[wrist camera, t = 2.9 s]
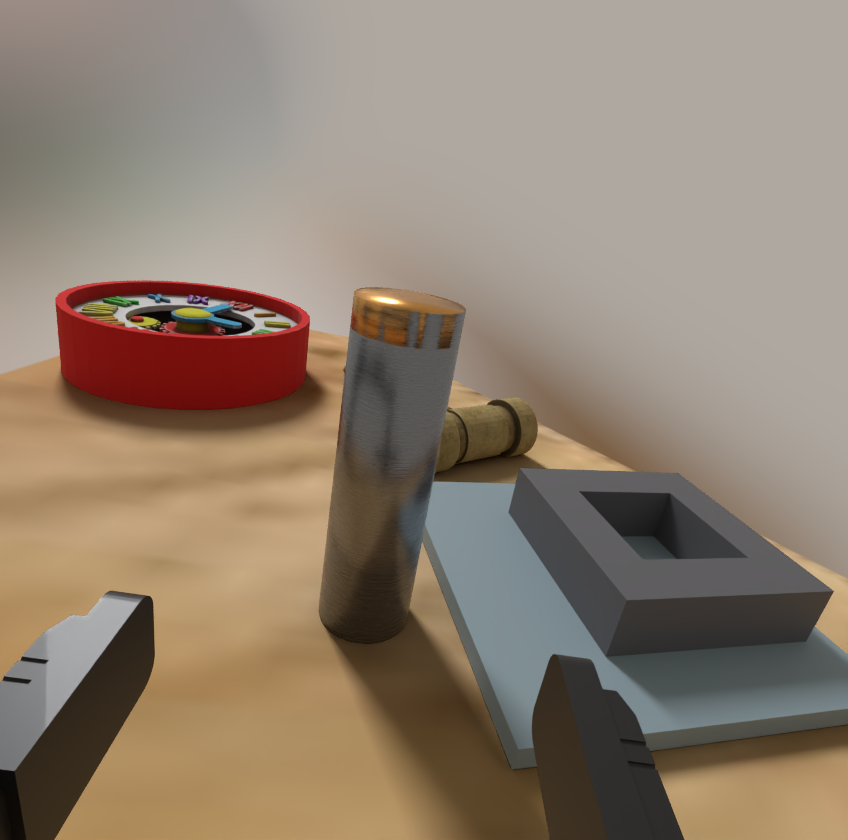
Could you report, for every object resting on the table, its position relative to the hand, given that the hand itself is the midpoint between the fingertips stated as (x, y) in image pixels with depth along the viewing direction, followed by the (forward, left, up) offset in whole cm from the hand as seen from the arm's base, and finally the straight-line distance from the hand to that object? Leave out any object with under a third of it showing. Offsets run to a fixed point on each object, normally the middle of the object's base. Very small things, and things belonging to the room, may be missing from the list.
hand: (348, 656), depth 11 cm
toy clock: (-8, +43, -9) cm, 44 cm away
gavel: (+10, +34, -9) cm, 37 cm away
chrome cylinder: (+3, +11, -9) cm, 14 cm away
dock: (+16, +12, -9) cm, 22 cm away
